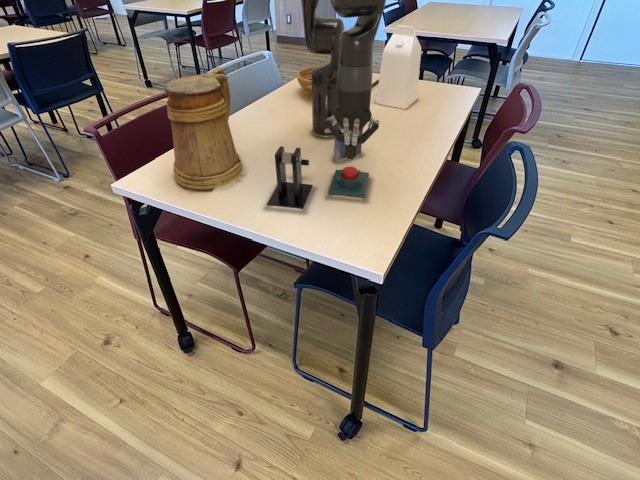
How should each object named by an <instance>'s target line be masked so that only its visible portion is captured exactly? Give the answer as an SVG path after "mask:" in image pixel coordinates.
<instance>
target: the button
mask: <svg viewBox="0 0 640 480" xmlns="http://www.w3.org/2000/svg"><path fill="white" fill-rule="evenodd" d="M357 170H358V168H357V167H355V166H346V167H343V177H344V178H346V179H354V178H356V177H357Z"/></svg>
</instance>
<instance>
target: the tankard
mask: <svg viewBox="0 0 640 480" xmlns="http://www.w3.org/2000/svg"><path fill="white" fill-rule="evenodd" d="M229 84H230V83H229V79H228V76H227V75H226V73H225V72H224V68H222V67H221V66H218V67H216V68H214V69H212V70H211V71H210V72H204V73H203V72H202V73H199V74H194V75H186V76H182V77H178V78H174V79H171V80H169V81H168V82H166V83H165V86H164V91H165V93H166V94H167V97H168V98H167V100H166V110H167V111H166V112H167V117H168V120H170V126H171V133H172V143H173V155H174V161H173V165H172V166H173V170H172V171H173V177H174V180H175V182H176V183H178V184H179V185H180V186H182V187H185V188H188V189H194V190H211V189H212V190H213V189H216V188H219V187H224V186H226V185H229V184H231V183H232V182H234V181H235V180H236V179H238V177H239V176H241V174H242V172H243V170H244V167H243V166H244V165H243V163H242V159H241V158H242V157H241V156H240V154H239V153H238V152H237V148H236V145H235V142H234V139H233V135H232V132H231V128H230V124H229V118H230V112H231V111H230V110H231V89H230V85H229Z"/></svg>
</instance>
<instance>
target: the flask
mask: <svg viewBox="0 0 640 480" xmlns="http://www.w3.org/2000/svg"><path fill="white" fill-rule="evenodd" d="M340 130H341V132H342V133H343V134H344V129H340ZM363 130H364V127H363V128H362V129H361V130H360V131H359V136H361V135H362V134H363V133H364V132H363ZM359 136H358V137H359ZM352 137H353V131H352V130H351V142H352ZM333 143H334V145H333V159H334V160H337V161H339V160H342V159H344V158H347V156H345V144H344V143H343V142H338V141H337V139H336V138H335V137H334V141H333ZM362 145H363V144H361V143H360V144H358V145H357V155H359V154H361V153H362Z"/></svg>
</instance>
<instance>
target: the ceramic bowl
mask: <svg viewBox="0 0 640 480" xmlns="http://www.w3.org/2000/svg"><path fill="white" fill-rule="evenodd" d="M318 65H319V64H317V65H310V66H306V67H304V68H301V69H299V70H298V71H297V72H296V73H295V76H296V77H297V81H298V84H299V86H300V87H301V88H302V89H303V90H305V91H306V92H309V93H311V94H312V77H311V72H312V69H313V68H314V67H315V66H318Z"/></svg>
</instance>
